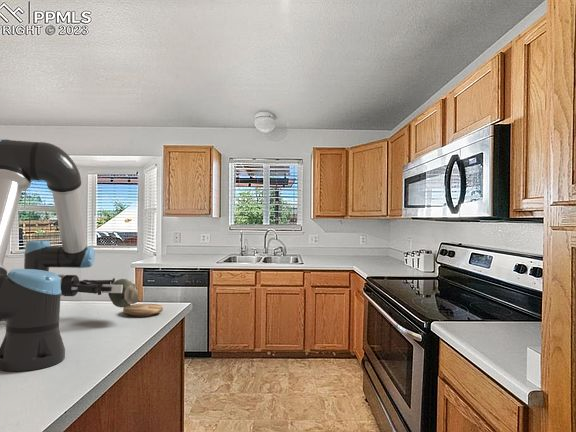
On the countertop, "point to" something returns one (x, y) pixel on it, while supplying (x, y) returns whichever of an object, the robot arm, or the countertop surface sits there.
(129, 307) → the lazy susan
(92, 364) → the countertop surface
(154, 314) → the susan base
